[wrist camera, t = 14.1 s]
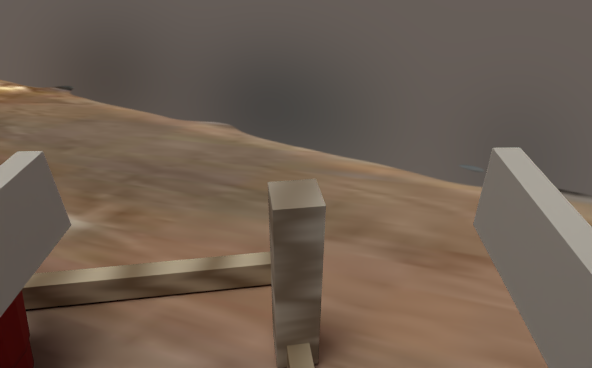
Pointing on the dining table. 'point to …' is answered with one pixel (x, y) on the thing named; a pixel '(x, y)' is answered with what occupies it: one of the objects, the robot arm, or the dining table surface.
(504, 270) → the robot arm
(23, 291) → the open rectangular frame
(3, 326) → the plastic cup
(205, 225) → the dining table surface
